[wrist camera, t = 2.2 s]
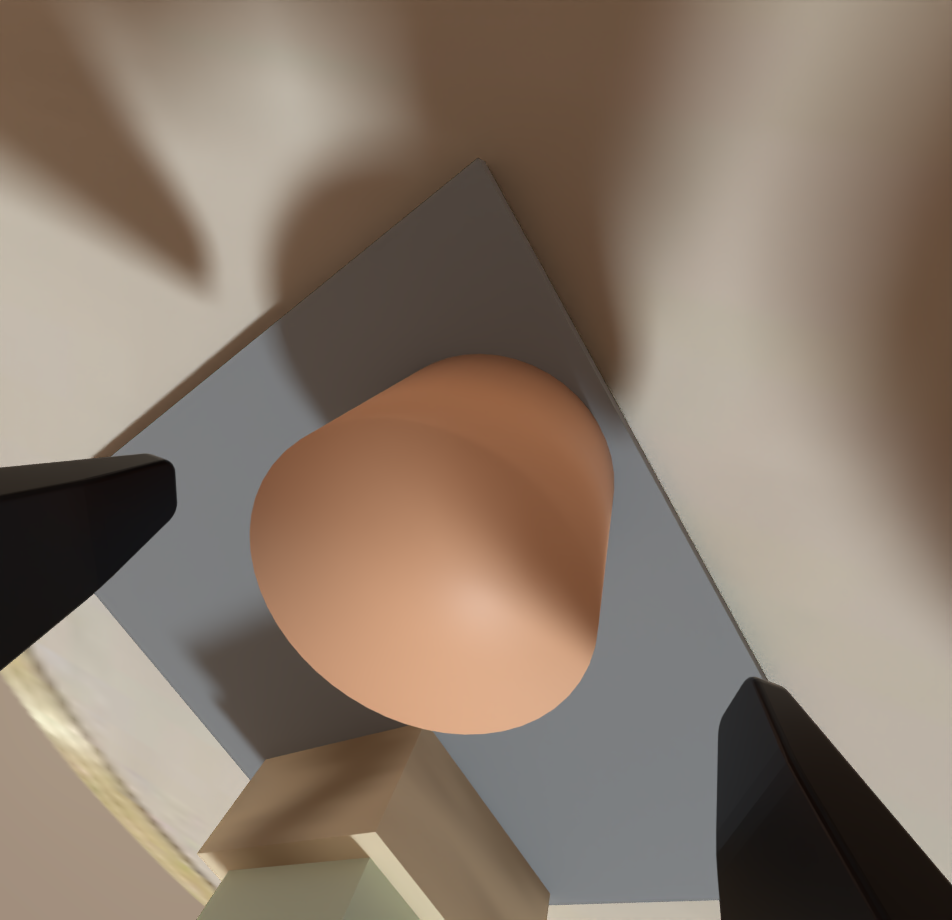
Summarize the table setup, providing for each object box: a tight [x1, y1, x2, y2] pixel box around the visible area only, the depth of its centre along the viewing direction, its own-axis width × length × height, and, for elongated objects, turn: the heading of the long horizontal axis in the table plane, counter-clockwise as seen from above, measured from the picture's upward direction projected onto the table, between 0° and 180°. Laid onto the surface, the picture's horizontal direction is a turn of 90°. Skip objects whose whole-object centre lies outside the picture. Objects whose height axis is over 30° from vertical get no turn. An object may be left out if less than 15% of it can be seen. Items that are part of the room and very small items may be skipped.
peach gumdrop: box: [250, 354, 614, 735], centre depth 9 cm, size 5×5×4 cm
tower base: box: [197, 725, 550, 920], centre depth 15 cm, size 7×7×3 cm
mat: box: [94, 158, 767, 905], centre depth 14 cm, size 17×18×1 cm
